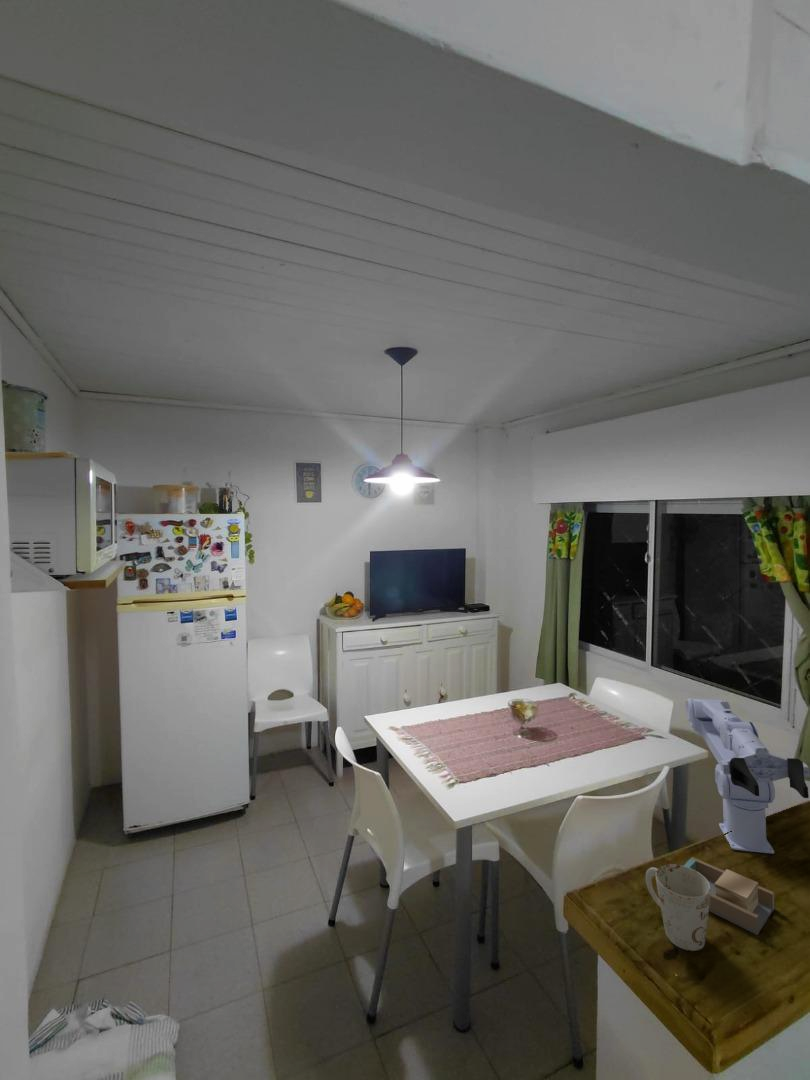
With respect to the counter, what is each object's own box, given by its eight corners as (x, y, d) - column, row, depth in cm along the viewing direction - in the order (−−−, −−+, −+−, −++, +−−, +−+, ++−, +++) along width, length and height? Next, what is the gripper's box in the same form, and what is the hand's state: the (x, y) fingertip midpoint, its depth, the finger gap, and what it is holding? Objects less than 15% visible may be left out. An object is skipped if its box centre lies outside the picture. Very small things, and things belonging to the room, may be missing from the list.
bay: (672, 892, 99) (672, 877, 99) (692, 871, 105) (692, 856, 105) (757, 935, 88) (756, 917, 88) (774, 908, 94) (773, 892, 94)
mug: (688, 964, 83) (686, 903, 83) (628, 912, 95) (626, 858, 95) (724, 946, 87) (722, 887, 86) (661, 897, 98) (659, 846, 98)
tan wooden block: (715, 904, 95) (714, 883, 95) (727, 889, 99) (726, 868, 99) (747, 920, 91) (746, 898, 91) (759, 904, 95) (758, 882, 94)
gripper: (712, 735, 109) (734, 769, 96) (793, 737, 105) (827, 772, 92) (715, 768, 109) (737, 805, 96) (795, 770, 105) (829, 810, 92)
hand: (781, 791), depth 94 cm, fingers open, 7 cm apart
